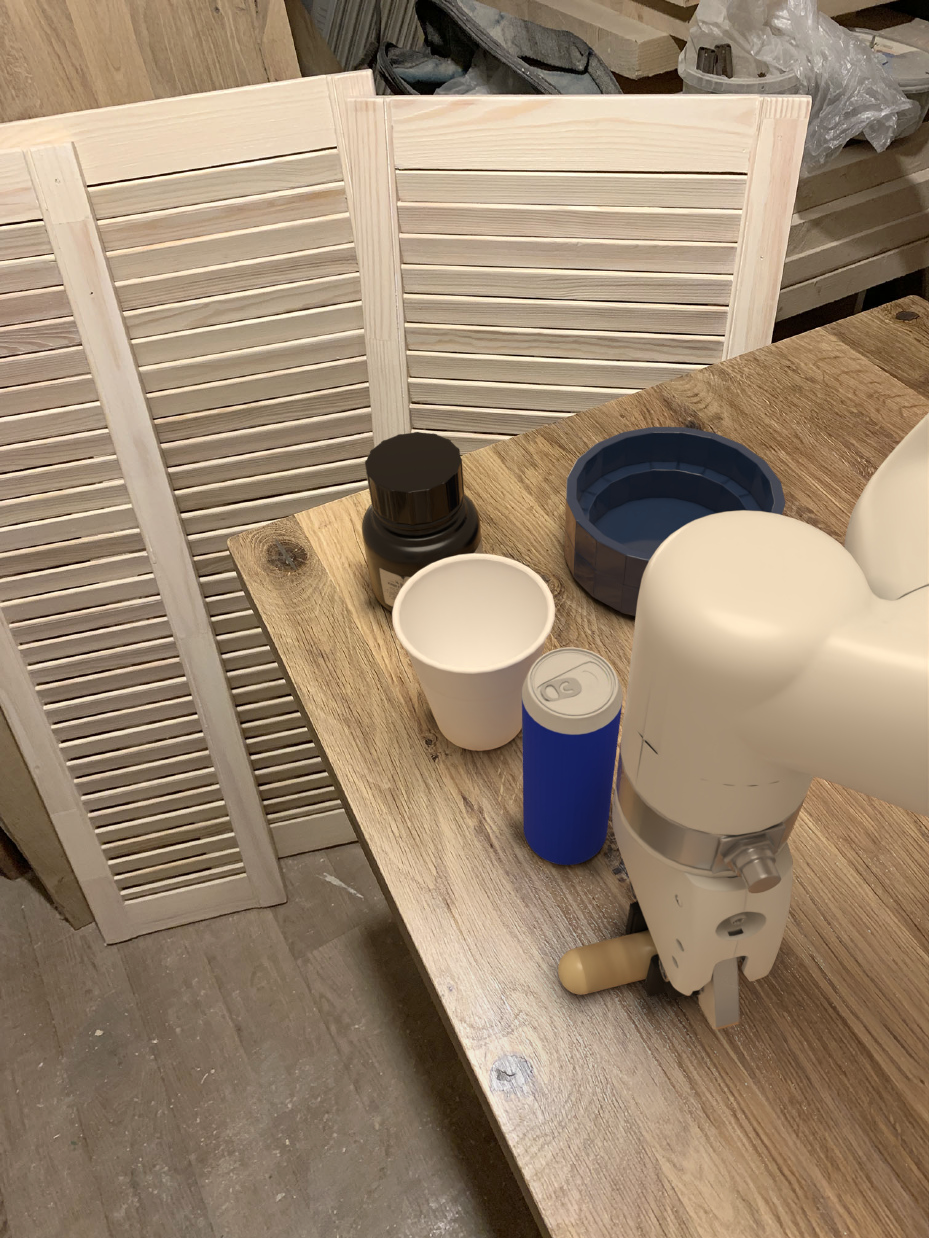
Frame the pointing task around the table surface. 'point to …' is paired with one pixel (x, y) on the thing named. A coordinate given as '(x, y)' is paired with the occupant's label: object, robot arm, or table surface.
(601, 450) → the bowl
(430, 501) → the ink bottle
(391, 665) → the table surface
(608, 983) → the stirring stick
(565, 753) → the beverage can
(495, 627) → the cup
